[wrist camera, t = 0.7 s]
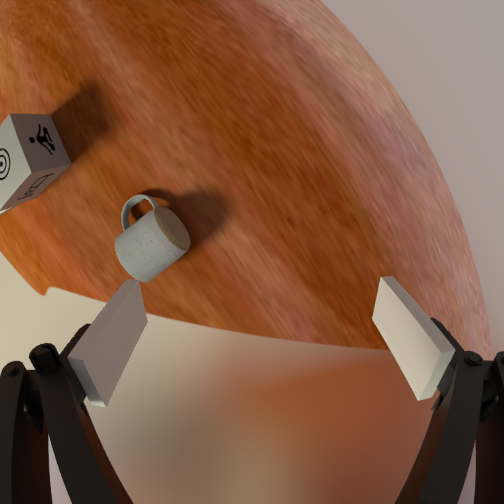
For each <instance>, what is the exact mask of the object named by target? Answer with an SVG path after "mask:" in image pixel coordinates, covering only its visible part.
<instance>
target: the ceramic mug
mask: <svg viewBox="0 0 504 504" xmlns="http://www.w3.org/2000/svg"><path fill="white" fill-rule="evenodd" d="M144 199H147V200H149V202H150V203H151V204H152V206H153V208H154V209H153V210H151V211H149V212H148V213H147V214H145V215H144V216H143V217H142V218H140V219H139V220H138V221H137V222H135V223H134V224H133V225H131V226H130V227H129V221H128V216H129V211H130V209H131V208H132V207H133V206H134V205H135V204H137V203H138V202H142V201H143V200H144ZM121 220H122V226H123V230H124V232H122V233H121V234H120V235H119V236H118V237H117V238H116V240H115V250H116V254H117V256H118V259H119V261H120V263H121V264H122V266H123V267H124V268H125V270H126V271H127V272H128V273H129V274H130V275H131V276H133V277H134V278H135V279H137V280H139V281H142V282H149V281H151V280H152V279H154V278H155V277H156V276H157V275H159V274H160V273H161V272H162V271H164V270H165V269H166V268H167V267H169V266H170V265H171V264H172V263H174V262H175V261H176V260H178V259H179V258H180V257H181V256H183V255H184V253H185V252H186V251H187V250H188V249H189V247H190V236H189V234H188V231H187V229H186V228H185V226H184V225H183V223H182V222H181V221H180V219H179V218H178V217H177V216H176V215H175V214H174V213H173V212H172V211H171V210H169V209H168V208H165V207H159V205H158V203H157V202H156V201H155V200H154V199H153V198H151V197H150V196H147V195H143V194H140V195H136V196H133V197H132V198H130V199H129V200H128V201H127V202H126V204H125V205H124V207H123V210H122V217H121Z"/></svg>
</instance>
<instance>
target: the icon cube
mask: <svg viewBox="0 0 504 504" xmlns="http://www.w3.org/2000/svg"><path fill="white" fill-rule="evenodd" d="M71 165H72V163H71V161H70V159H69V157H68V155H67V152H66V150H65V148H64V146H63V144H62V141H61V139H60V137H59V134H58V132H57V130H56V127H55V125H54V123H53V120H52V118H51V115H44V114H9V115H8V117H7V118H6V119H5V120H4V122H3V123H2V124H1V126H0V212H1V211H3V210H5V209H8V208H10V207H13V206H16V205H18V204H21V203H24V202H26V201H29V200H32V199H34V198H37V197H38V196H39V195H40V194H41V193H42V192H43V191H44V190H45V189H46V188H47V187H48V186H49V185H50V184H51V183H52V182H53V181H54V180H55V179H56V178H57V177H58V176H60V175H61V174H62V173H63V172H64V171H65V170H66V169H67V168H68V167H69V166H71Z"/></svg>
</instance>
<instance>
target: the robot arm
mask: <svg viewBox="0 0 504 504" xmlns="http://www.w3.org/2000/svg"><path fill="white" fill-rule="evenodd" d="M372 320H373V321H374V323H375V325H376V326H377V328H378V330H379V331H380V333H381V335H382V336H383V338H384V340H385V342H386V343H387V345H388V347H389V348H390V350H391V352H392V354H393V355H394V357H395V359H396V361H397V362H398V364H399V366H400V368H401V370H402V371H403V373H404V375H405V377H406V379H407V380H408V382H409V384H410V386H411V388H412V390H413V392H414V394H415V395H416V398H417V399H418V401H419V400H423V399H427V398H430V397H432V396H433V394H434V392H435V390H436V388H438V390H439V391H440V395H439V397H438V399H437V400H436V402H435V404H434V405H433V407H432V409H431V410H433V409H434V412H433V415H432V418H431V421H430V424H429V427H428V430H427V432H426V435H425V438H424V441H423V443H422V446H421V449H420V451H419V453H418V456H417V458H416V461H415V463H414V465H413V467H412V470H411V472H410V474H409V476H408V478H407V480H406V483H405V484H404V487H403V488H402V490H401V492H400V494H399V496H398V498H397V500H396V502H395V504H457V503H458V500H459V497H460V494H461V491H462V488H463V485H464V482H465V478H466V475H467V472H468V468H469V464H470V460H471V456H472V452H473V448H474V443H475V441H476V481H475V497H474V504H504V351H502V352H499V353H497V355H496V357H495V359H494V361H484V360H483V359H482V357H481V356H480V355H478V354H477V353H475V352H472V351H464V350H463V348H462V347H461V346H460V345H459V343H458V342H457V341H456V340H455V339H454V337H453V336H452V335H451V334H450V333H449V331H448V330H446V328H445V327H444V326H443V324H442V323H441V322H439V321H438V320H436V319H434V318H429V317H428V316H427V314H426V313H425V312H424V311H423V310H422V309H421V307H420V306H419V305H418V304H417V303H416V302H415V301H414V299H413V298H412V297H411V296H410V295H409V294H408V293H407V292H406V291H405V289H404V288H403V287H402V286H401V285H400V284H399V283H398V282H397V281H396V280H395V279H394V277H393V276H390V277H381V278H380V284H379V289H378V294H377V299H376V303H375V308H374V312H373V317H372ZM147 322H148V321H147V317H146V313H145V308H144V303H143V299H142V294H141V289H140V284H139V280H127V279H126V281H125V282H124V283H123V284H122V286H121V287H120V288H119V289H118V290H117V292H116V293H115V294H114V295H113V297H112V298H111V299H110V300H109V302H108V303H107V304H106V306H105V307H104V308H103V310H102V311H101V312H100V313H99V315H98V316H97V317H96V319H95V320H94V321H93V322H92V324H86V325H84V326H83V327H81V328H80V329H79V330H78V331H77V332H76V334H75V335H74V337H73V338H72V339H71V340H70V342H69V343H68V344H67V346H66V347H65V348H64V350H63V351H62V352H61V354H60V355H59V354H58V352H57V349H56V348H55V346H54V345H52V344H50V343H44V344H40V345H38V346H36V347H35V348H34V349H33V350H32V351H31V352H30V354H29V359H30V360H31V363H32V364H33V366H34V368H35V370H26V368H25V366H24V365H23V363H22V362H20V361H13V362H10V363H8V364H7V365H6V366H5V367H4V368H3V370H2V372H1V375H0V504H52V495H51V486H50V473H49V454H48V453H49V452H48V433H49V437H50V440H51V445H52V448H53V451H54V454H55V458H56V461H57V464H58V467H59V470H60V473H61V476H62V479H63V482H64V484H65V487H66V490H67V492H68V495H69V497H70V499H71V502H72V504H133V502H132V500H131V499H130V497H129V495H128V494H127V492H126V490H125V488H124V487H123V485H122V483H121V481H120V480H119V478H118V476H117V474H116V472H115V471H114V468H113V467H112V465H111V463H110V461H109V459H108V457H107V455H106V452H105V450H104V448H103V446H102V444H101V442H100V440H99V437H98V435H97V433H96V430H95V428H94V426H93V423H92V421H91V419H90V416H89V413H88V411H87V408H86V406H85V404H84V402H83V401H84V399H85V397H86V395H87V397H88V399H89V401H90V403H91V404H93V405H97V406H102V407H106V406H107V404H108V402H109V400H110V398H111V395H112V393H113V391H114V389H115V387H116V385H117V383H118V381H119V378H120V376H121V374H122V372H123V370H124V368H125V366H126V364H127V362H128V360H129V358H130V356H131V354H132V352H133V350H134V347H135V346H136V344H137V342H138V340H139V338H140V336H141V334H142V332H143V330H144V328H145V326H146V324H147Z"/></svg>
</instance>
